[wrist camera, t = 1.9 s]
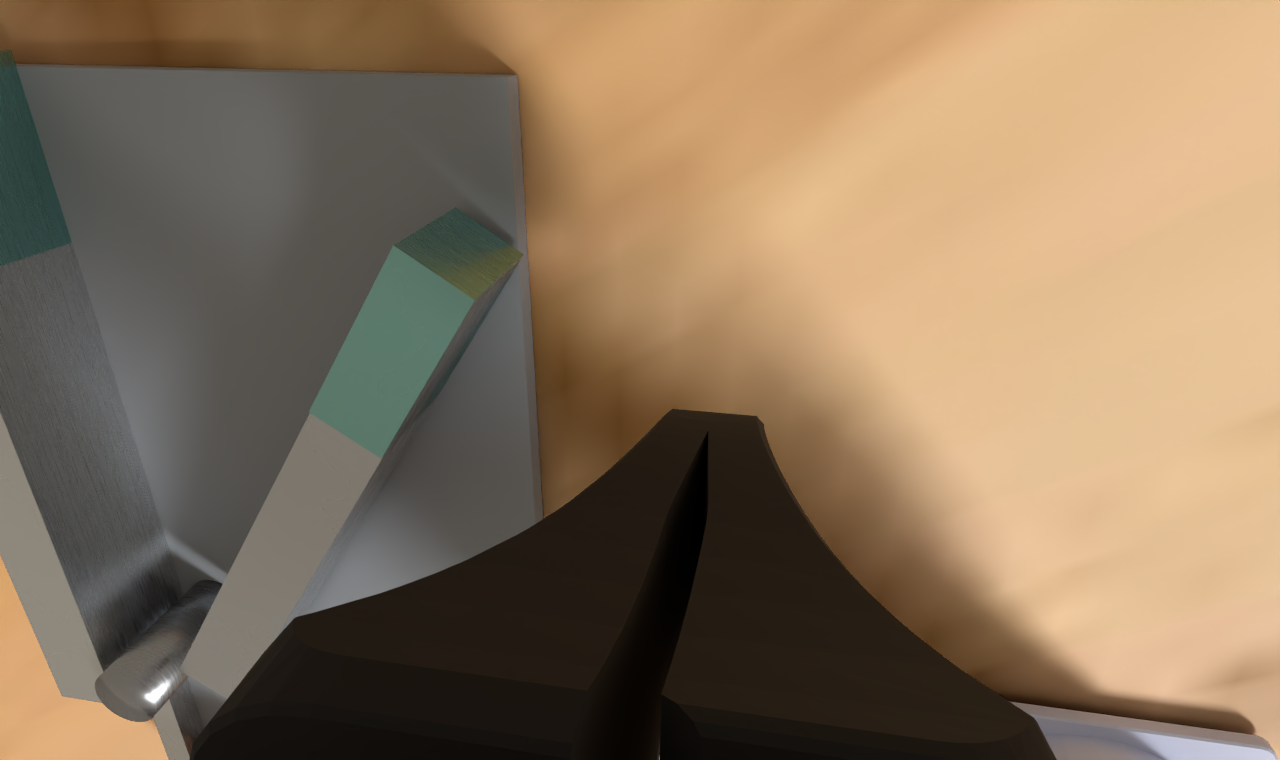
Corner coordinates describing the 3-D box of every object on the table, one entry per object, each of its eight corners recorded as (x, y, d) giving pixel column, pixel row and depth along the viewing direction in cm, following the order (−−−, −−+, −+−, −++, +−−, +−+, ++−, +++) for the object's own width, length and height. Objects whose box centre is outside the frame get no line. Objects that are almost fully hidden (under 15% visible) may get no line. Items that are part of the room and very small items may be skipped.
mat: (561, 825, 25) (555, 843, 24) (189, 760, 27) (177, 776, 26) (517, 74, 15) (507, 77, 14) (-59, 62, 17) (-87, 63, 16)
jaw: (296, 628, 21) (234, 707, 19) (245, 598, 21) (176, 673, 19) (523, 254, 16) (474, 300, 13) (455, 207, 15) (393, 245, 13)
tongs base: (354, 779, 25) (283, 905, 22) (210, 754, 26) (118, 872, 23) (190, 51, 16) (16, 66, 12) (-29, 47, 17) (-251, 59, 13)
